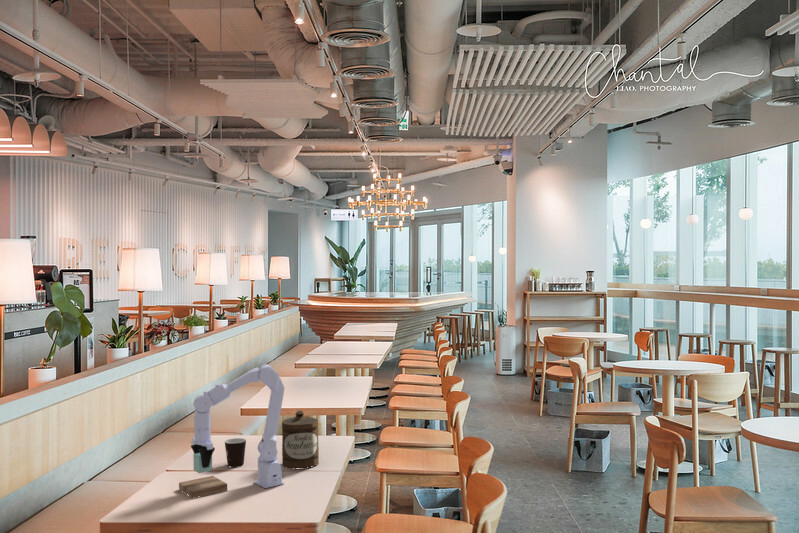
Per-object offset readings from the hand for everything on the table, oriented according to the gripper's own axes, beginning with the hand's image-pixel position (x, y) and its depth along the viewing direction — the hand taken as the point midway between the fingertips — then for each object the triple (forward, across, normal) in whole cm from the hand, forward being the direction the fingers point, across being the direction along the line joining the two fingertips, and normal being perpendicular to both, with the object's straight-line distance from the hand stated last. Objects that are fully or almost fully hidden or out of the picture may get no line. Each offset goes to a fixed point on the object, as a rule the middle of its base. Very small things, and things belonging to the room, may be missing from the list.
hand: (202, 465), depth 247 cm
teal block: (+2, 0, 0) cm, 2 cm away
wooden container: (+9, -6, +44) cm, 45 cm away
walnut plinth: (+9, 0, 0) cm, 9 cm away
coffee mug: (+9, -24, +24) cm, 35 cm away
